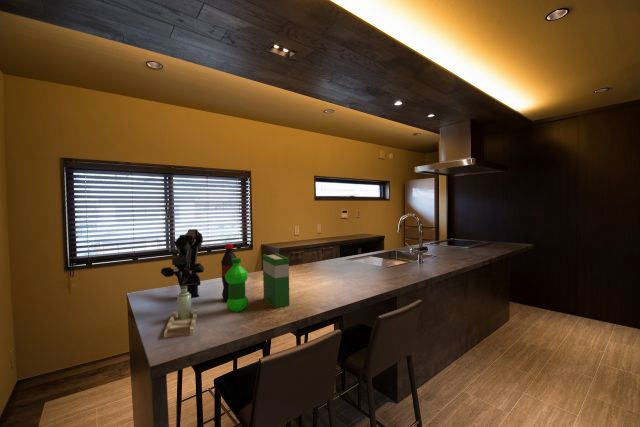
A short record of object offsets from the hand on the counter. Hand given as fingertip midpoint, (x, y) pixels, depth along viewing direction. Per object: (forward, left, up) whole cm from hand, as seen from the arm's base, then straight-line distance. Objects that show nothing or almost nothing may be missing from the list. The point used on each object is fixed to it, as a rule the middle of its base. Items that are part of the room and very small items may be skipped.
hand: (180, 286), depth 140 cm
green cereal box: (-41, +19, -12) cm, 47 cm away
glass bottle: (+1, +9, -12) cm, 15 cm away
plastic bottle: (-21, +16, -12) cm, 29 cm away
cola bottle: (-25, -1, -12) cm, 28 cm away
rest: (+4, +17, -12) cm, 21 cm away
